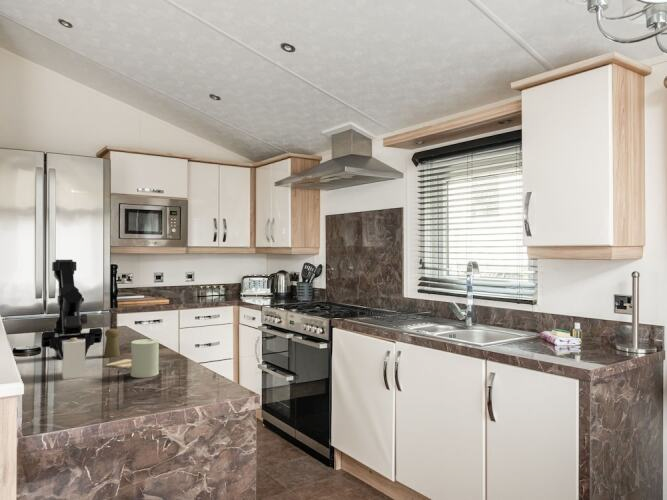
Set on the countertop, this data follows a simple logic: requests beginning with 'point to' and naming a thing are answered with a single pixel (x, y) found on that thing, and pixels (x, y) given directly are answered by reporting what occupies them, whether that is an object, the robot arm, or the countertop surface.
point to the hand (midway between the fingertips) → (73, 357)
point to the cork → (112, 343)
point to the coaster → (121, 363)
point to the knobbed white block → (73, 358)
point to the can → (144, 358)
